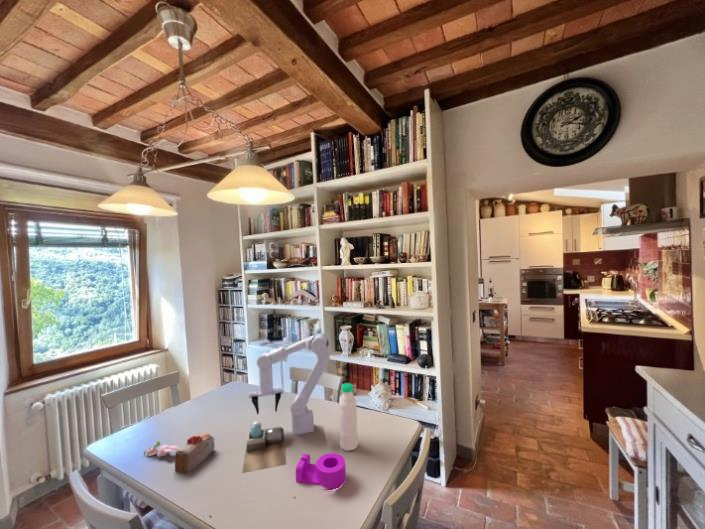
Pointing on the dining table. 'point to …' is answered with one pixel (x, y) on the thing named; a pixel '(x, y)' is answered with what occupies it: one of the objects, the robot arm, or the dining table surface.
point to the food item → (193, 452)
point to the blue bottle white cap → (256, 430)
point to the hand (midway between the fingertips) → (267, 411)
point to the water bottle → (348, 418)
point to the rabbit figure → (161, 450)
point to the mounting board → (265, 457)
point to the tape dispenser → (322, 471)
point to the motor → (265, 439)
